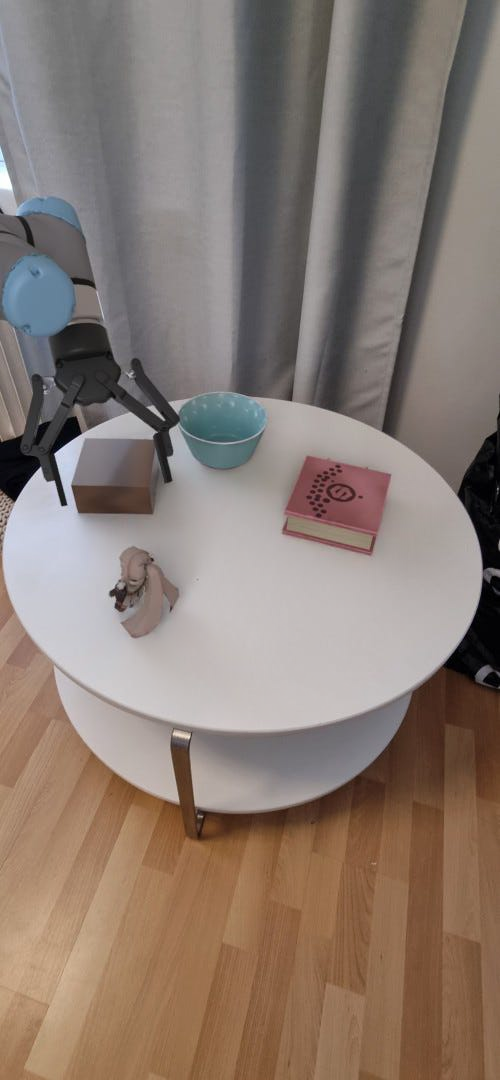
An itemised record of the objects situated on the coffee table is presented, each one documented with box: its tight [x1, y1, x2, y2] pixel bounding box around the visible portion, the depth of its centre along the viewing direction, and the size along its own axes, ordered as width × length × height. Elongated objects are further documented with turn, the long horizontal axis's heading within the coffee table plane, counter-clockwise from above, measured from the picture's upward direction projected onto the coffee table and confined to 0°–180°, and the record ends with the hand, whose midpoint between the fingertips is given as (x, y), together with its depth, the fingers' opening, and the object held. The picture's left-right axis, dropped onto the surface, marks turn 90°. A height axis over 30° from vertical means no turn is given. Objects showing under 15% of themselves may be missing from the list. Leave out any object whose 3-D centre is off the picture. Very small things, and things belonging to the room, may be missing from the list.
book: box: [281, 454, 392, 557], centre depth 95 cm, size 14×15×5 cm
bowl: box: [176, 391, 269, 470], centre depth 103 cm, size 16×16×8 cm
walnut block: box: [70, 437, 160, 515], centre depth 96 cm, size 12×12×6 cm
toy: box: [107, 545, 180, 639], centre depth 76 cm, size 9×8×15 cm
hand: (117, 494), depth 76 cm, fingers open, 13 cm apart
